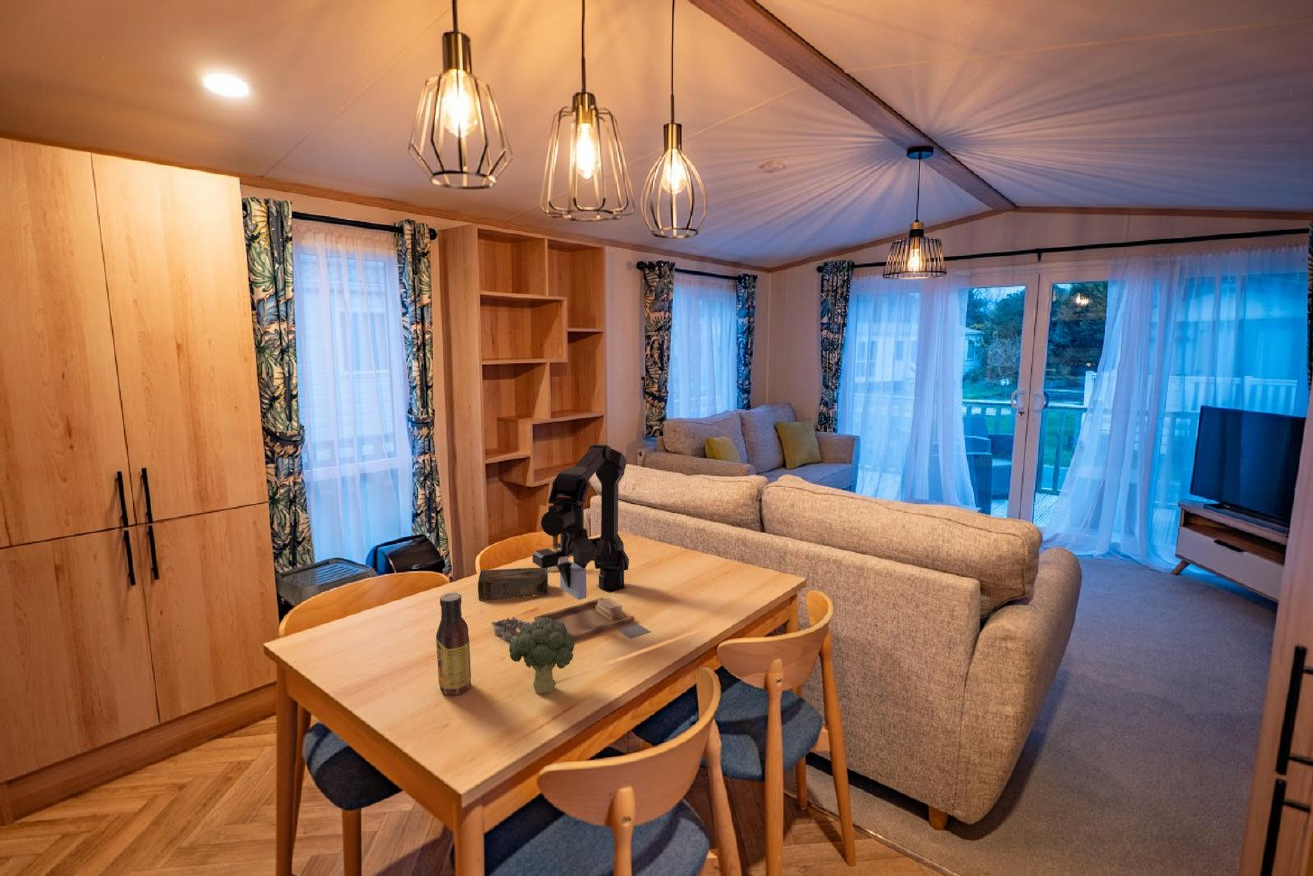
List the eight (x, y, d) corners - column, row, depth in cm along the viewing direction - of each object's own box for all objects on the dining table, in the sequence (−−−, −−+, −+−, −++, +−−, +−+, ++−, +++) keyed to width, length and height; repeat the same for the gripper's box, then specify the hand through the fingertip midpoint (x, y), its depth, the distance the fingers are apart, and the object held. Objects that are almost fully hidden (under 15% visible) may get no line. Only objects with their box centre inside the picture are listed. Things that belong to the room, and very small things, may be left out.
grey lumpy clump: (541, 641, 145) (540, 625, 144) (513, 652, 140) (512, 635, 139) (517, 626, 152) (516, 610, 152) (489, 635, 147) (489, 619, 147)
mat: (636, 625, 153) (636, 623, 152) (651, 634, 148) (651, 631, 148) (616, 631, 149) (616, 629, 149) (630, 641, 144) (630, 638, 144)
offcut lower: (607, 607, 162) (607, 601, 162) (624, 617, 156) (624, 611, 155) (595, 610, 160) (595, 604, 160) (612, 621, 153) (612, 615, 153)
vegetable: (579, 701, 120) (578, 629, 117) (512, 712, 116) (509, 637, 114) (570, 670, 131) (568, 603, 129) (508, 679, 127) (506, 611, 125)
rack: (602, 604, 165) (602, 597, 165) (634, 623, 153) (634, 617, 153) (534, 623, 153) (534, 617, 153) (563, 647, 141) (563, 639, 141)
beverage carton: (549, 596, 171) (548, 574, 170) (477, 602, 167) (476, 579, 166) (548, 585, 178) (547, 564, 177) (479, 591, 175) (478, 568, 174)
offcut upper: (609, 602, 161) (609, 597, 161) (621, 610, 156) (621, 605, 156) (597, 606, 159) (597, 600, 159) (610, 614, 154) (610, 608, 154)
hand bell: (568, 562, 197) (567, 514, 195) (569, 571, 189) (568, 521, 187) (542, 564, 196) (540, 515, 194) (541, 573, 188) (540, 522, 186)
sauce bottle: (443, 680, 127) (439, 589, 124) (474, 679, 127) (470, 588, 124) (435, 698, 120) (429, 602, 118) (467, 697, 121) (463, 601, 118)
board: (568, 586, 154) (567, 559, 153) (586, 597, 147) (586, 569, 146) (560, 588, 153) (559, 561, 152) (578, 600, 146) (578, 571, 145)
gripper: (552, 539, 136) (554, 606, 138) (622, 525, 147) (623, 587, 149) (530, 527, 144) (532, 591, 147) (598, 515, 156) (598, 574, 158)
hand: (572, 586), depth 150 cm, fingers closed on board, 2 cm apart
